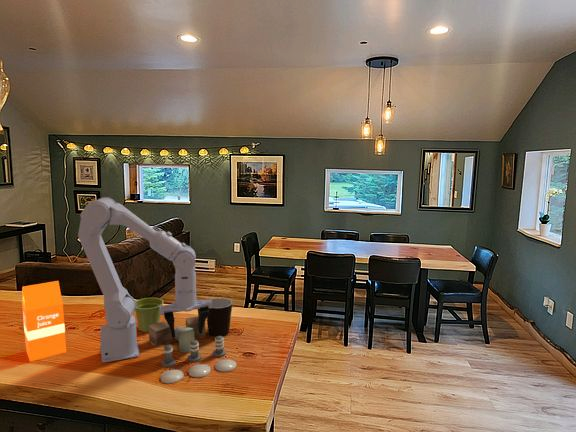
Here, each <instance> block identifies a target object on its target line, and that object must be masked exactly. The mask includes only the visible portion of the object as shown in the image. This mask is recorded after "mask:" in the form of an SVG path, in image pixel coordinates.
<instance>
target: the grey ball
mask: <svg viewBox="0 0 576 432" xmlns="http://www.w3.org/2000/svg"><path fill="white" fill-rule="evenodd" d="M182 328H185V327H184V326H177V327H175V328H174V330H175V338H174V339H175V340H176V341H179V330H180V329H182Z"/></svg>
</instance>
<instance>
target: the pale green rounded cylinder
mask: <svg viewBox="0 0 576 432" xmlns="http://www.w3.org/2000/svg"><path fill="white" fill-rule="evenodd" d="M193 340H195V339H194V329H193V328H186V327H184V328H182V329H180V330H179V340H178V350H179V352H181V353H191V351H190V343H191V341H193Z"/></svg>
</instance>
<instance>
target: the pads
mask: <svg viewBox="0 0 576 432" xmlns="http://www.w3.org/2000/svg"><path fill="white" fill-rule="evenodd" d="M214 368H215V370H216V371H218V372H222V373H227V372H232V371H233V370H235V369H236V368H237V362H236V361H234V360H233V359H230V358H229V359H221V360H219V361H217V362H216V363H215V366H214ZM210 373H211V367H210V365H207V364H204V363H203V364H195V365H193V366H191V367H190V368H189V369H188V375H189V376H190V377H192V378H198V379H199V378H204V377H207V376H208V375H209V374H210ZM183 378H184V372H183V371H182V370H180V369H170V370H169V369H168V370H166V371H164V372H163V373H162V374H160V377H159V379H160V381H161V382H162V383H164V384H175V383H177V382H179V381H181V380H183Z"/></svg>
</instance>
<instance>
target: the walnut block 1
mask: <svg viewBox="0 0 576 432" xmlns="http://www.w3.org/2000/svg"><path fill="white" fill-rule="evenodd" d="M148 341H149V342H150V343H151V344H153V346H154V347H156V348H157V347H161V346H165V345H168V344H170V343H172V342H173V338H172V334H171V329H170V327H169V325H168V323H167V321H166V320H164V321H163V320H162V321H159V323H156V324H153V325H149V332H148Z"/></svg>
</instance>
